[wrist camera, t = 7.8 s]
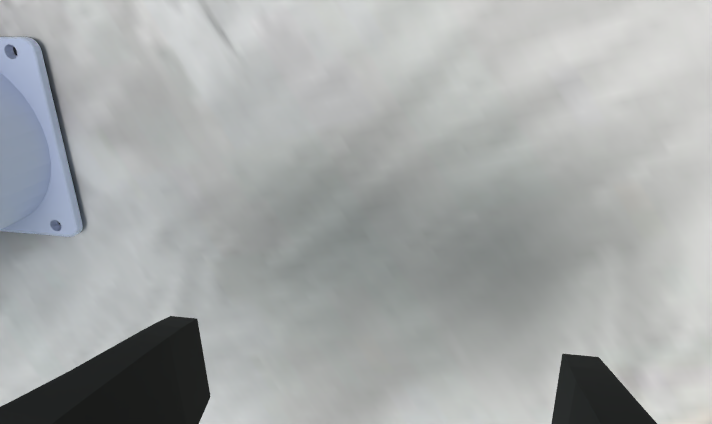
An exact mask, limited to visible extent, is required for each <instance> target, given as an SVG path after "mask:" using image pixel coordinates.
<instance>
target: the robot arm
mask: <svg viewBox="0 0 712 424" xmlns="http://www.w3.org/2000/svg"><path fill="white" fill-rule="evenodd" d="M13 46H14V47H15V48H16V50H17V56H16V55H15V54H14V51H13ZM57 221H58V222H59V223H60V224H61V226H60V225H59V224H58V222H57ZM82 228H83V225H82V220H81V216H80V211H79V207H78V203H77V199H76V194H75V190H74V186H73V182H72V178H71V173H70V169H69V165H68V161H67V156H66V152H65V148H64V144H63V140H62V135H61V131H60V127H59V123H58V118H57V114H56V110H55V106H54V101H53V97H52V93H51V89H50V85H49V80H48V76H47V72H46V68H45V63H44V59H43V55H42V51H41V48H40V46H39V45H38V43H37V42H36V41H35V40H33V39H32V38H29V37H0V231H5V232H17V233H30V234H42V235H55V236H67V237H71V236H75V235H76V234H78V233H79V232H81V231H82ZM209 399H210V392H209V386H208V380H207V374H206V368H205V362H204V356H203V350H202V345H201V339H200V333H199V327H198V321H197V319H194V318H184V317H174V316H170V317H168V318H166V319H164V320H161V321H159V322H157V323H155V324H153V325H152V326H150V327H148V328H146V329H144V330H142V331H140V332H139V333H137V334H135V335H133V336H131V337H130V338H128V339H126V340H124V341H123V342H121V343H119V344H117V345H115V346H114V347H112V348H110V349H108V350H107V351H105V352H103V353H101V354H99V355H98V356H96V357H94V358H92V359H90V360H89V361H87V362H85V363H83V364H82V365H80V366H78V367H76V368H74V369H73V370H71V371H69V372H67V373H65V374H63V375H61V376H59V377H57V378H56V379H54V380H52V381H50V382H48V383H46V384H44V385H42V386H40V387H38V388H36V389H34V390H33V391H31V392H29V393H27V394H25V395H23V396H21V397H19V398H17V399H15V400H13V401H11V402H9V403H7V404H5V405H3V406H1V407H0V424H199V422H200V419H201V417H202V415H203V412H204V410H205V408H206V405H207V403H208V401H209ZM552 424H657V423H656V422H655V421H654V420H653V419H652V417H651V416H650V415H649V414H648V413H647V412H646V411H645V410H644V408H643V407H642V406H641V405H640V404H639V403H638V402H637V401H636V399H635V398H634V397H633V396H632V395H631V394H630V393H629V391H628V390H627V389H626V388H625V387H624V386H623V384H622V383H621V382H620V381H619V380H618V379H617V378H616V376H615V375H614V374H613V373H612V372H611V371H610V370H609V368H608V367H607V366H606V365H605V364H604V363H603V362H602V361H601V359H600V358H599V357H591V356H581V355H570V354H562V360H561V367H560V373H559V380H558V386H557V392H556V399H555V405H554V412H553V418H552Z"/></svg>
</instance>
